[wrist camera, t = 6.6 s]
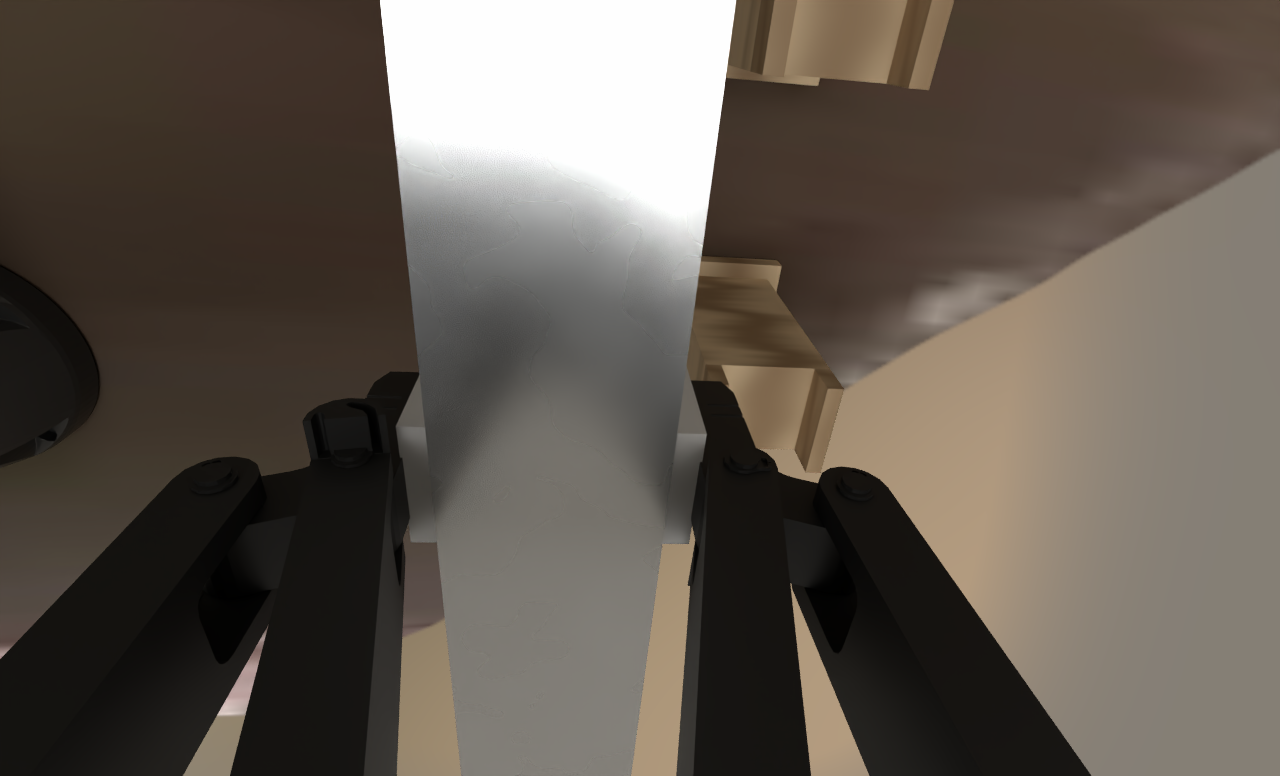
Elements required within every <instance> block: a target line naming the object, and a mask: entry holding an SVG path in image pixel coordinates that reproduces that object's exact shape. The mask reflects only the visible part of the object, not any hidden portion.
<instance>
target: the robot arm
mask: <svg viewBox="0 0 1280 776" xmlns="http://www.w3.org/2000/svg"><path fill="white" fill-rule="evenodd" d="M97 396H98V375H97V370H96V366H95V363H94V360H93V357H92V355H91V352H90V350H89V348H88V346H87V344H86V342H85V341H84V339H83V337H82V336H81V334H80V333H79V331H78V330H77V329H76V327H75V326H74V325H73V323H72V322H71V321H70V320H69V319H68V317H67V316H66V315H65V314H64V313H63V312H62V311H61V310H60V309H59V308H58V307H57V306H56V305H55V304H54V303H53V302H52V301H51V300H49V299H48V298H47V297H46V296H45V295H44V294H42V293H41V292H40V291H39V290H37V289H36V288H34V287H33V286H32V285H30V284H29V283H27V282H26V281H24V280H23V279H21V278H20V277H18V276H16V275H15V274H13V273H11V272H10V271H8V270H6V269H4V268H2V267H0V468H1V467H4V466H7V465H10V464H13V463H15V462H18V461H21V460H24V459H27V458H30V457H32V456H35V455H38V454H40V453H42V452H45V451H46V450H48V449H50V448H52V447H54V446H55V445H57V444H58V443H60V442H61V441H62V440H63V439H65V438H66V437H67V436H68V435H70V434H71V433H72V432H73V431H75V430H76V429H77V428H79V427H80V426H81V425H82V424H83V423H84V422H85V421H86V420H87V418H88V417H89V416H90V414H91V412H92V411H93V409H94V406H95V404H96V400H97ZM303 426H304V430H305V435H306V439H307V444H308V448H309V453H310V457H311V462H310V466H308V467H306V468H303V469H299V470H294V471H290V472H284V473H278V474H273V475H267V476H261V474H260V471H259V468H258V465H257V464H256V463H254V462H253V461H251V460H250V459H246V458H240V457H222V458H215V459H212V460H207V461H203V462H200V463H198V464H196V465H194V466H192V467H189V468H187V469H185V470H184V471H182V472H181V473H180V474H179V475H177V476H176V477H175V478H173V479H172V480H171V481H170V482H169V484H168V485H167V486H166V487H165V488H164V489H163V490H162V491H161V492H160V493H159V494H158V495H157V496H156V497H155V498H154V499H153V500H152V501H151V502H150V503H149V504H148V505H147V507H146V508H145V509H144V510H143V511H142V512H141V513H140V514H139V515H138V516H137V517H136V518H135V519H134V520H133V521H132V522H131V523H130V524H129V525H128V526H127V527H126V528H125V529H124V531H123V532H122V533H121V534H120V535H119V536H118V537H117V538H116V539H115V540H114V541H113V542H112V543H111V544H110V545H109V546H108V547H107V548H106V549H105V550H104V551H103V552H102V554H101V555H100V556H99V557H98V558H97V559H96V560H95V561H94V562H93V563H92V564H91V565H90V566H89V567H88V568H87V569H86V570H85V571H84V572H83V573H82V574H81V575H80V576H79V578H78V579H77V580H76V581H75V582H74V583H73V584H72V585H71V586H70V587H69V588H68V589H67V590H66V591H65V592H64V593H63V594H62V595H61V596H60V597H59V598H58V599H57V601H56V602H55V603H54V604H53V605H52V606H51V607H50V608H49V609H48V610H47V611H46V612H45V613H44V614H43V615H42V616H41V617H40V618H39V619H38V620H37V621H36V622H35V624H34V625H33V626H32V627H31V628H30V629H29V630H28V631H27V632H26V633H25V634H24V635H23V636H22V637H21V638H20V639H19V640H18V641H17V642H16V643H15V644H14V645H13V646H12V648H11V649H10V650H9V651H8V652H7V653H6V654H5V655H4V656H3V657H2V658H1V659H0V776H183V774H184V773H185V771H186V769H187V767H188V765H189V764H190V762H191V760H192V758H193V757H194V755H195V753H196V751H197V750H198V748H199V746H200V744H201V743H202V741H203V739H204V737H205V735H206V734H207V732H208V730H209V728H210V726H211V725H212V723H213V721H214V720H215V718H216V716H217V714H218V713H219V711H220V709H221V707H222V705H223V704H224V702H225V700H226V698H227V697H228V695H229V693H230V691H231V690H232V688H233V686H234V684H235V683H236V681H237V679H238V677H239V675H240V674H241V672H242V670H243V668H244V667H245V665H246V663H247V661H248V660H249V658H250V656H251V654H252V653H253V651H254V649H255V647H256V645H257V644H258V642H259V640H260V638H261V637H262V635H263V633H264V631H265V630H266V628H267V626H268V624H269V626H268V630H267V633H266V637H265V641H264V645H263V649H262V653H261V657H260V661H259V665H258V669H257V672H256V676H255V680H254V684H253V688H252V692H251V696H250V700H249V704H248V707H247V711H246V715H245V720H244V723H243V727H242V731H241V735H240V739H239V743H238V747H237V750H236V754H235V758H234V762H233V766H232V770H231V774H230V776H397V774H396V773H397V751H398V725H399V702H400V677H401V653H402V651H401V650H402V628H403V603H404V579H405V552H404V545H403V537H404V534H405V531H406V528H407V525H408V523H409V530H410V538H411V542H437V537H436V528H435V518H434V509H433V499H432V489H431V480H430V470H429V461H428V451H427V442H426V432H425V423H424V413H423V404H422V394H421V384H420V375H419V372H389V373H388V374H386V375H385V376H383V377H382V378H380V379H379V380H377V381H376V382H374V384H373V386H372V388H371V389H370V391H369V393H368V395H367V398H365V399H356V398H347V399H341V400H335V401H331V402H328V403H325V404H323V405H320V406H318V407H316V408H315V409H313V410H312V411H310V412H309V413H308V414H307V415H306V417H305V418H304V420H303ZM692 527H693V531H694V535H695V546H694V552H693V558H692V563H691V569H690V575H689V581H688V586H690V598H689V611H688V625H687V639H686V652H685V665H684V679H683V692H682V706H681V721H680V734H679V747H678V761H677V776H811V771H810V762H809V753H808V744H807V734H806V725H805V716H804V707H803V698H802V688H801V679H800V670H799V660H798V652H797V642H796V633H795V624H794V614H793V606H792V596H791V586H790V583H791V584H792V589H793V592H794V594H795V596H796V599H797V601H798V604H799V606H800V608H801V611H802V613H803V616H804V618H805V621H806V623H807V626H808V628H809V630H810V633H811V635H812V637H813V640H814V642H815V645H816V647H817V650H818V652H819V654H820V657H821V660H822V662H823V664H824V667H825V669H826V671H827V674H828V677H829V679H830V681H831V684H832V686H833V688H834V691H835V693H836V696H837V698H838V701H839V703H840V706H841V708H842V710H843V713H844V715H845V717H846V720H847V722H848V725H849V727H850V730H851V732H852V735H853V737H854V739H855V742H856V744H857V747H858V749H859V751H860V754H861V756H862V759H863V761H864V764H865V766H866V768H867V771H868V773H869V776H1091V774H1090V773H1089V772H1088V770H1087V769H1086V767H1085V766H1084V765H1083V763H1082V762H1081V760H1080V759H1079V757H1078V756H1077V755H1076V753H1075V752H1074V750H1073V749H1072V748H1071V746H1070V745H1069V743H1068V742H1067V740H1066V739H1065V738H1064V736H1063V735H1062V733H1061V732H1060V731H1059V729H1058V728H1057V726H1056V725H1055V724H1054V722H1053V721H1052V719H1051V718H1050V717H1049V715H1048V714H1047V712H1046V711H1045V709H1044V708H1043V707H1042V705H1041V704H1040V702H1039V701H1038V699H1037V698H1036V697H1035V695H1034V694H1033V692H1032V691H1031V690H1030V688H1029V687H1028V685H1027V684H1026V682H1025V681H1024V680H1023V678H1022V677H1021V675H1020V674H1019V673H1018V671H1017V670H1016V668H1015V667H1014V665H1013V664H1012V663H1011V661H1010V660H1009V659H1008V657H1007V656H1006V654H1005V653H1004V651H1003V650H1002V648H1001V647H1000V646H999V644H998V643H997V641H996V640H995V638H994V637H993V636H992V634H991V633H990V631H989V630H988V629H987V627H986V626H985V624H984V623H983V622H982V620H981V619H980V617H979V616H978V614H977V613H976V612H975V610H974V609H973V607H972V606H971V604H970V603H969V602H968V601H967V599H966V597H965V596H964V595H963V593H962V592H961V590H960V589H959V587H958V586H957V585H956V583H955V582H954V580H953V579H952V578H951V576H950V575H949V573H948V572H947V571H946V569H945V568H944V566H943V565H942V564H941V562H940V561H939V559H938V558H937V556H936V555H935V553H934V552H933V551H932V549H931V548H930V546H929V545H928V544H927V542H926V541H925V539H924V538H923V536H922V535H921V534H920V532H919V531H918V529H917V528H916V527H915V525H914V524H913V522H912V521H911V519H910V518H909V517H908V515H907V514H906V512H905V511H904V510H903V508H902V507H901V505H900V504H899V503H898V501H897V500H896V498H895V497H894V495H893V494H892V493H891V491H890V490H889V488H888V487H887V486H886V485H885V484H884V483H883V482H882V481H881V480H880V479H878V478H876V477H875V476H873V475H871V474H869V473H868V472H865V471H862V470H859V469H856V468H849V467H836V468H830V469H828V470H826V471H825V472H823V473H822V475H821V477H820V479H819V482H818V483H814V482H810V481H805V480H801V479H796V478H793V477H790V476H786V475H784V474H782V473H779V472H778V468H777V466H776V463H775V461H774V460H773V459H772V458H771V457H770V456H769V455H768V454H767V453H765V452H763V451H761V450H759V449H758V448H756V446H755V444H754V441H753V439H752V436H751V434H750V432H749V429H748V427H747V424H746V422H745V419H744V418H743V414H742V412H741V409H740V407H739V404H738V402H737V399H736V397H735V394H734V392H733V391H731V390H730V389H729V388H728V387H727V386H726V385H725V384H723V383H722V382H721V381H697V380H690V376H689V373H688V369H687V366H686V373H685V380H684V388H683V395H682V402H681V410H680V417H679V425H678V432H677V439H676V447H675V454H674V462H673V469H672V476H671V484H670V491H669V498H668V506H667V513H666V521H665V528H664V535H663V543H662V544H689V540H690V533H691V528H692Z"/></svg>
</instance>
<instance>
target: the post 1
mask: <svg viewBox="0 0 1280 776" xmlns="http://www.w3.org/2000/svg"><path fill="white" fill-rule="evenodd" d="M953 3H954V0H736V4H735V11H734V19H733V26H732V34H731V41H730V48H729V56H728V63H727V70H726V78H733V79H745V80H756V81H767V82H779V83H790V84H801V85H813V86H818V84H819V79H820V78H829V79H840V80H852V81H863V82H874V83H885V84H891V85H895V86H900V87H905V88H911V89H922V90H929V87H930V84H931V80H932V77H933V73H934V70H935V66H936V63H937V59H938V56H939V52H940V49H941V45H942V41H943V38H944V34H945V31H946V27H947V24H948V20H949V17H950V13H951V10H952V6H953Z"/></svg>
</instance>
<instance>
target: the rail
mask: <svg viewBox="0 0 1280 776" xmlns="http://www.w3.org/2000/svg"><path fill="white" fill-rule="evenodd" d="M380 2H381V12H382V21H383V31H384V40H385V50H386V60H387V69H388V79H389V88H390V98H391V107H392V117H393V126H394V136H395V146H396V155H397V165H398V174H399V184H400V193H401V203H402V212H403V222H404V232H405V241H406V251H407V260H408V270H409V279H410V289H411V298H412V308H413V318H414V327H415V337H416V346H417V356H418V365H419V375H420V384H421V394H422V404H423V413H424V423H425V432H426V442H427V451H428V461H429V470H430V480H431V489H432V499H433V509H434V518H435V528H436V537H437V547H438V556H439V566H440V575H441V585H442V595H443V604H444V614H445V623H446V633H447V642H448V652H449V661H450V671H451V680H452V690H453V699H454V709H455V719H456V728H457V738H458V747H459V756H460V767H461V776H631V771H632V764H633V756H634V749H635V742H636V735H637V726H638V720H639V712H640V705H641V697H642V690H643V683H644V675H645V668H646V660H647V653H648V646H649V639H650V631H651V624H652V616H653V609H654V601H655V594H656V587H657V580H658V572H659V564H660V557H661V549H662V543H663V535H664V528H665V521H666V513H667V506H668V498H669V491H670V484H671V476H672V469H673V462H674V454H675V447H676V439H677V432H678V425H679V417H680V410H681V402H682V395H683V388H684V380H685V373H686V366H687V358H688V351H689V343H690V336H691V329H692V321H693V314H694V307H695V299H696V292H697V284H698V277H699V270H700V262H701V255H702V248H703V240H704V233H705V225H706V218H707V211H708V203H709V196H710V189H711V181H712V174H713V166H714V159H715V152H716V144H717V137H718V129H719V122H720V115H721V107H722V100H723V93H724V85H725V78H726V70H727V63H728V56H729V48H730V41H731V34H732V26H733V19H734V11H735V4H736V0H380Z"/></svg>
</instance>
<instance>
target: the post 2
mask: <svg viewBox="0 0 1280 776" xmlns="http://www.w3.org/2000/svg"><path fill="white" fill-rule="evenodd" d="M780 271H781V265H780V263H779V262H778V261H777V260H765V259H748V258H731V257H713V256H701V262H700V270H699V277H698V284H697V292H696V299H695V307H694V314H693V321H692V329H691V336H690V343H689V351H688V358H687V369H688V373H689V376H690V380H697V381H721V382H722V383H723V384H725V385H726V386H727V387H728V388H729V389H730V390H731V391H733V392H734V394H735V397H736V399H737V402H738V404H739V407H740V409H741V412H742V414H743V418H744V419H745V422H746V424H747V427H748V429H749V432H750V434H751V436H752V439H753V441H754V444H755V446H756V448H758V449H790V450H791V449H792V450H795V452H796V454H797V456H798V458H799V460H800V462H801V464H802V466H803V468H804V470H805V472H810V473H821V469H822V465H823V462H824V458H825V455H826V451H827V447H828V444H829V441H830V437H831V434H832V430H833V427H834V423H835V420H836V416H837V413H838V409H839V405H840V402H841V398H842V395H843V391H844V388H843V387H842V386H841V384H840V383H839V381H838V380H837V378H836V377H835V376H834V374H833V373H832V371H831V370H830V368H829V367H828V366H827V364H826V363H825V361H824V360H823V358H822V357H821V356H820V354H819V353H818V351H817V350H816V348H815V347H814V346H813V344H812V343H811V341H810V340H809V338H808V337H807V336H806V334H805V333H804V331H803V330H802V328H801V327H800V326H799V324H798V323H797V321H796V320H795V318H794V317H793V316H792V314H791V313H790V311H789V310H788V308H787V307H786V305H785V304H784V303H783V301H782V300H781V298H780V297H779V295H778V294H777V293H776V291H777V286H778V281H779V276H780Z"/></svg>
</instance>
